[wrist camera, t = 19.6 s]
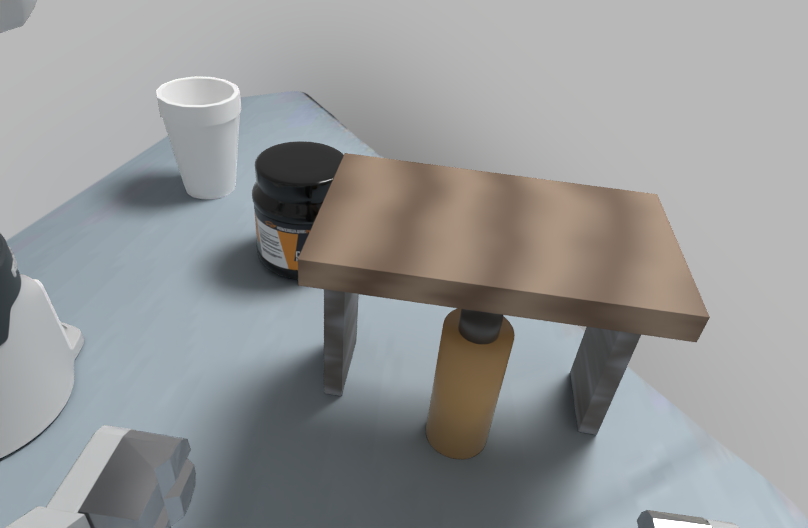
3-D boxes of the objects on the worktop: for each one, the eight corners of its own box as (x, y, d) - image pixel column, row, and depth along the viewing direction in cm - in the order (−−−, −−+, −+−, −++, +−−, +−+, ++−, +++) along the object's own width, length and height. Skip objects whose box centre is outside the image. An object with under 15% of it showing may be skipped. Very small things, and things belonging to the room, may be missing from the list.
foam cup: (186, 212, 74) (170, 112, 66) (162, 179, 80) (145, 83, 72) (259, 194, 78) (252, 99, 71) (231, 164, 84) (222, 72, 76)
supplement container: (254, 285, 64) (246, 187, 57) (259, 229, 72) (252, 137, 65) (353, 283, 66) (357, 187, 58) (347, 228, 74) (350, 139, 67)
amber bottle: (414, 438, 50) (432, 318, 42) (444, 399, 54) (466, 281, 46) (469, 470, 48) (500, 350, 40) (497, 426, 52) (529, 308, 44)
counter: (303, 460, 48) (297, 259, 36) (340, 338, 59) (344, 153, 47) (608, 508, 47) (709, 317, 34) (586, 374, 58) (657, 194, 46)
